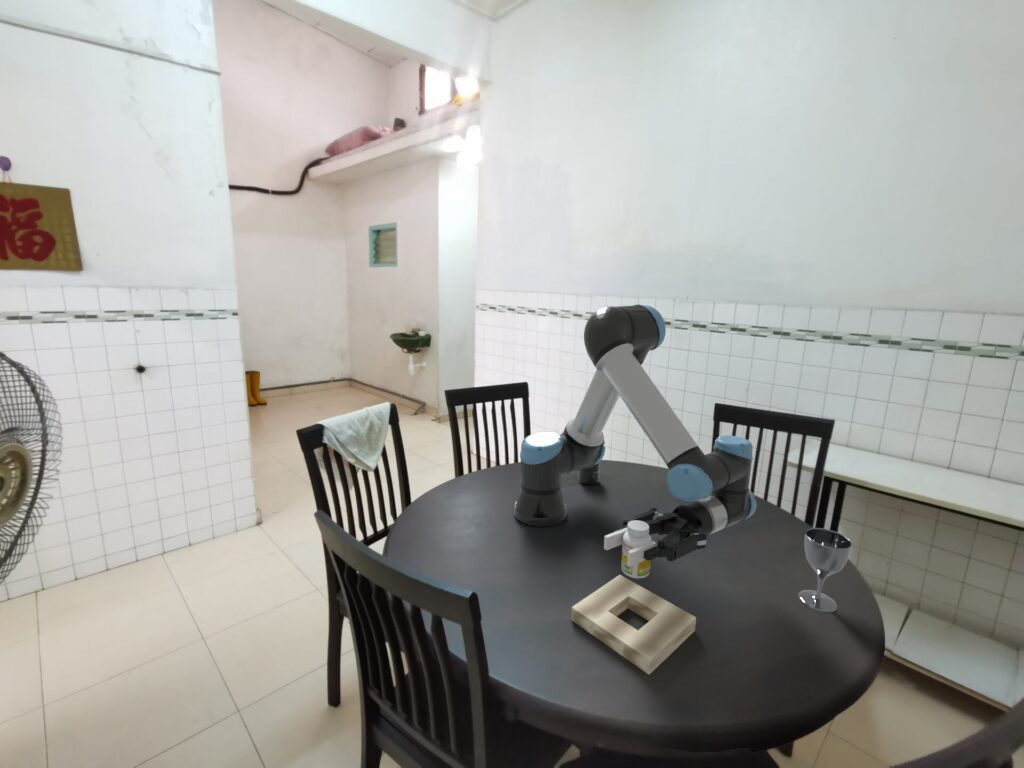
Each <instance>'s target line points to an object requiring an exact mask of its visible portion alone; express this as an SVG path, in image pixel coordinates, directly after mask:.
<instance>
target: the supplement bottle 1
mask: <svg viewBox="0 0 1024 768" xmlns="http://www.w3.org/2000/svg"><path fill="white" fill-rule="evenodd" d="M600 468H601V461H600V462H599V463H597V464H596V465H593V466H592V467H590V468H587V469H583V470H580V471H578V481H579V483H581V484H583V485H586V486H595V485H597V484H598V483H599V482H600V471H601V469H600Z"/></svg>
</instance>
